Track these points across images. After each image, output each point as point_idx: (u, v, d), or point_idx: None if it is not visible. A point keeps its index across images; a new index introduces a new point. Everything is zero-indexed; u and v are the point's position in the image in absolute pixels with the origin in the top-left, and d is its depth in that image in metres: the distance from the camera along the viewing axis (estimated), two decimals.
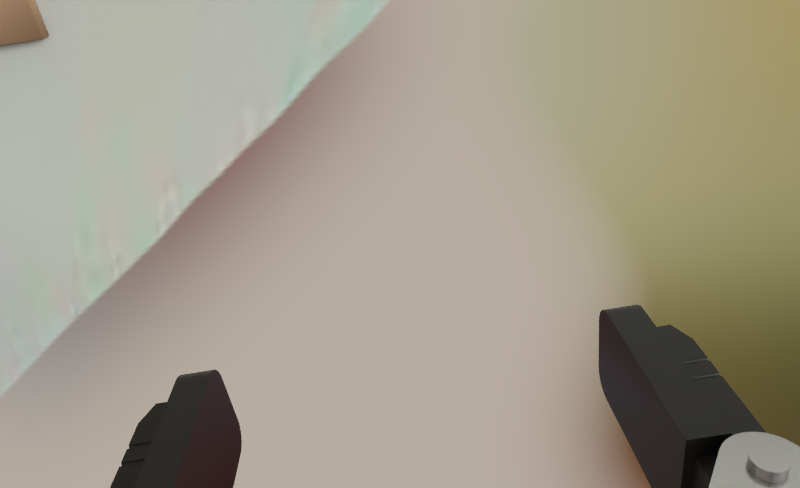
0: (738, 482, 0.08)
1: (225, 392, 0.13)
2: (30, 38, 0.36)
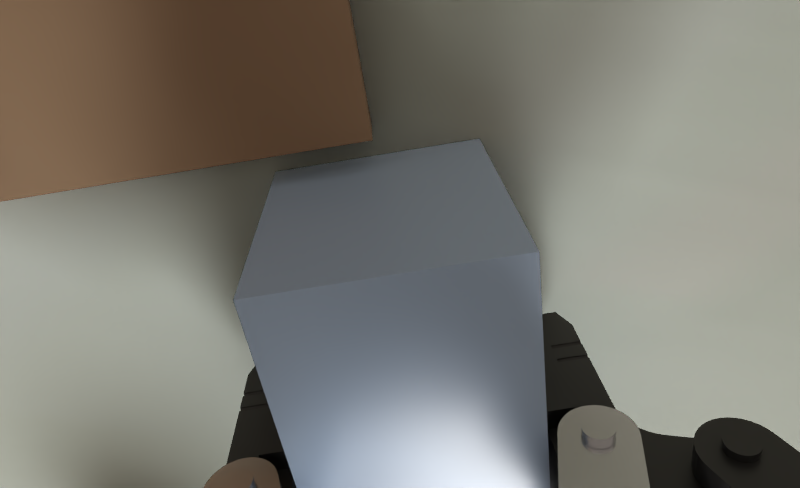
0: (580, 457, 0.09)
1: None
2: None
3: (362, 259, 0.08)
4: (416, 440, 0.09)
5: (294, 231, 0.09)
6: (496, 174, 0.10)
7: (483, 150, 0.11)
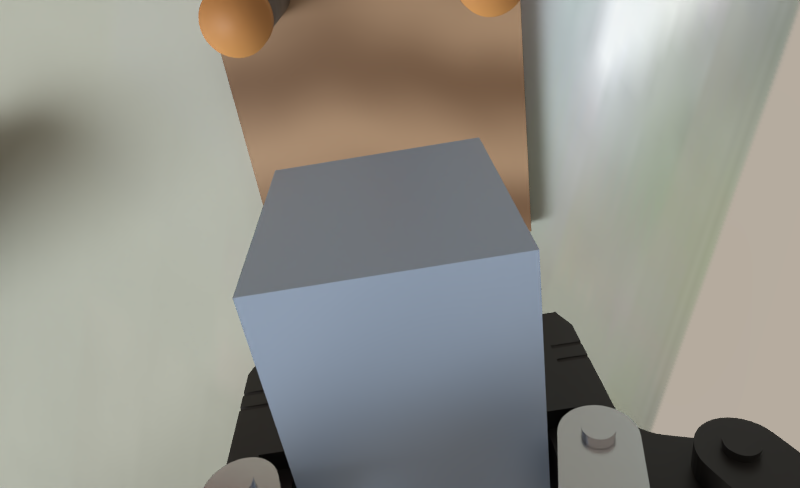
0: (580, 457, 0.09)
1: None
2: None
3: (361, 257, 0.08)
4: (416, 439, 0.09)
5: (294, 229, 0.09)
6: (496, 173, 0.10)
7: (483, 149, 0.11)
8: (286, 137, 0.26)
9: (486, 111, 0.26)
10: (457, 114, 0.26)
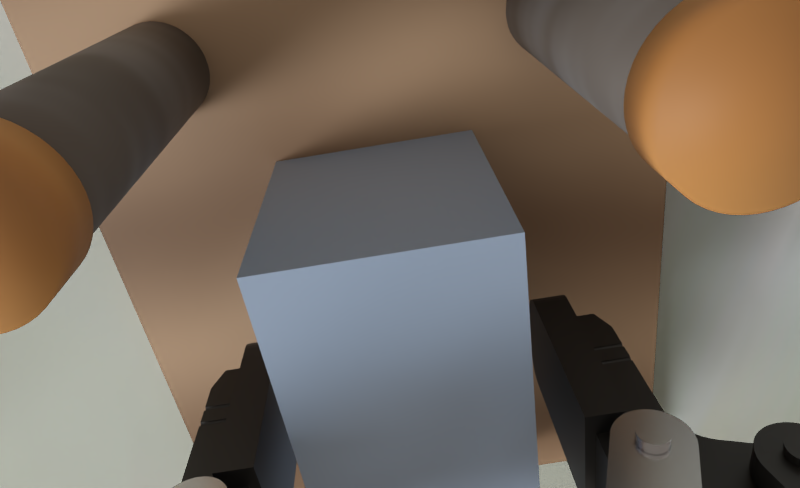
0: (631, 460, 0.09)
1: None
2: None
3: (357, 241, 0.09)
4: (410, 415, 0.10)
5: (294, 216, 0.10)
6: (486, 162, 0.11)
7: (475, 140, 0.12)
8: (218, 320, 0.14)
9: (589, 271, 0.14)
10: (535, 277, 0.14)
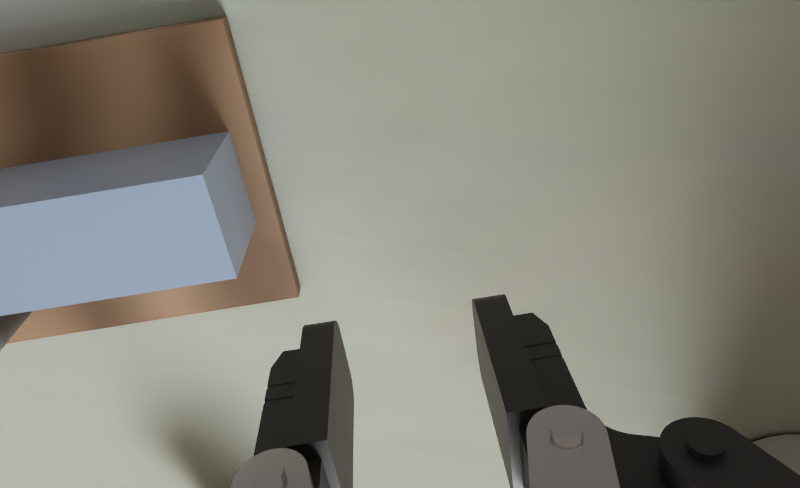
0: (550, 458, 0.09)
1: (342, 343, 0.14)
2: None
3: None
4: (47, 256, 0.21)
5: None
6: None
7: None
8: None
9: (73, 93, 0.23)
10: (85, 125, 0.23)
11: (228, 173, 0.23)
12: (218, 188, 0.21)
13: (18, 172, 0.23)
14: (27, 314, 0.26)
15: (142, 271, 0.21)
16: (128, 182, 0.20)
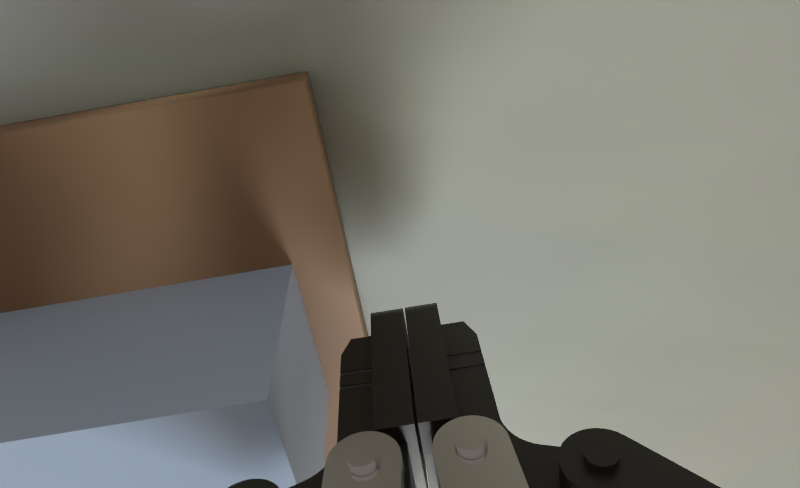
0: (459, 471, 0.09)
1: (406, 331, 0.14)
2: None
3: None
4: None
5: None
6: None
7: None
8: None
9: (43, 206, 0.13)
10: (65, 256, 0.14)
11: (297, 346, 0.13)
12: (288, 396, 0.12)
13: None
14: None
15: None
16: (123, 405, 0.11)
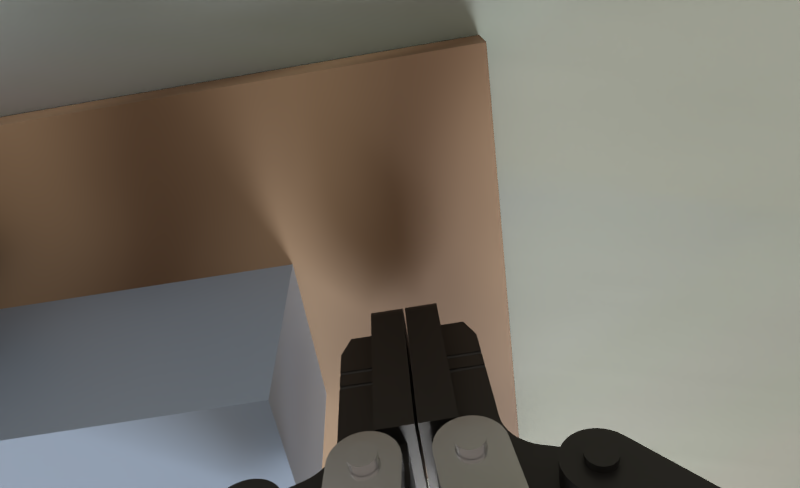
0: (459, 471, 0.09)
1: (407, 331, 0.14)
2: None
3: None
4: None
5: None
6: None
7: None
8: None
9: (208, 171, 0.13)
10: (221, 223, 0.14)
11: (297, 346, 0.13)
12: (288, 396, 0.12)
13: None
14: None
15: None
16: (123, 403, 0.11)
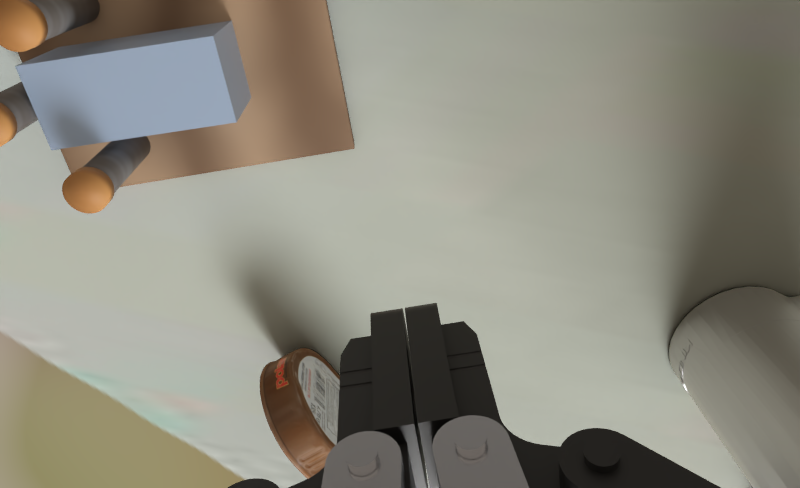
0: (459, 471, 0.09)
1: (406, 331, 0.14)
2: None
3: None
4: (96, 100, 0.28)
5: None
6: (42, 54, 0.30)
7: (53, 50, 0.31)
8: (236, 137, 0.34)
9: None
10: None
11: (231, 48, 0.30)
12: (224, 53, 0.29)
13: (71, 47, 0.31)
14: (144, 155, 0.33)
15: (166, 114, 0.29)
16: (158, 42, 0.28)
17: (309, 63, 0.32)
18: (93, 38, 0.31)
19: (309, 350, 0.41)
